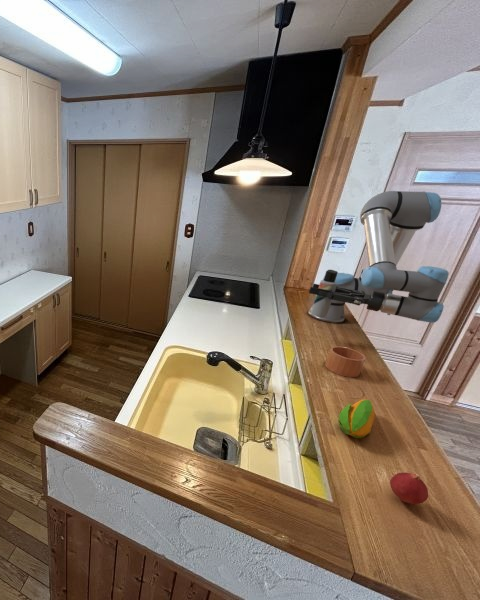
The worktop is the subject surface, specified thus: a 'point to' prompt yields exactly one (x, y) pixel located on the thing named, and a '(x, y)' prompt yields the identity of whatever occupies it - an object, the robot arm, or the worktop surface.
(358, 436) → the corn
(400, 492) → the onion
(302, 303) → the worktop surface
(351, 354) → the bowl
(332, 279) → the lotion bottle
